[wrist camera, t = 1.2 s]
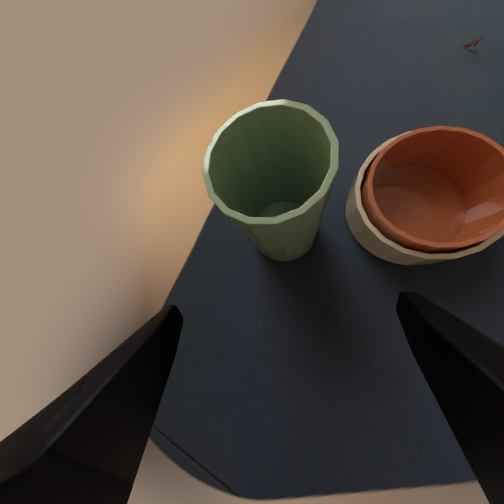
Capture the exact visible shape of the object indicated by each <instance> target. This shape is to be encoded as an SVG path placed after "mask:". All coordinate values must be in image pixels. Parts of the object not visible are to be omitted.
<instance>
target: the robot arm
mask: <svg viewBox="0 0 504 504" xmlns="http://www.w3.org/2000/svg"><path fill="white" fill-rule="evenodd" d="M396 311H397V314H398V317H399V320H400V322H401V325H402V327H403V330H404V333H405V335H406V338H407V340H408V343H409V346H410V348H411V351H412V353H413V355H414V357H415V359H416V361H417V363H418V365H419V367H420V369H421V371H422V373H423V375H424V377H425V379H426V381H427V383H428V385H429V387H430V389H431V391H432V392H433V394H434V396H435V398H436V400H437V402H438V404H439V406H440V408H441V410H442V412H443V414H444V416H445V418H446V420H447V422H448V424H449V426H450V427H451V429H452V431H453V433H454V435H455V437H456V439H457V441H458V443H459V445H460V447H461V449H462V451H463V453H464V455H465V457H466V459H467V461H468V462H469V464H470V466H471V468H472V470H473V472H474V474H475V476H476V478H477V480H478V482H479V484H480V486H481V488H482V490H483V492H484V494H485V495H486V497H487V499H488V501H489V503H490V504H504V346H502V345H500V344H499V343H497V342H496V341H494V340H492V339H491V338H489V337H488V336H486V335H484V334H483V333H481V332H480V331H478V330H476V329H475V328H473V327H472V326H470V325H468V324H467V323H465V322H464V321H462V320H460V319H459V318H457V317H456V316H454V315H452V314H451V313H449V312H448V311H446V310H444V309H443V308H441V307H440V306H438V305H436V304H435V303H433V302H432V301H430V300H428V299H427V298H425V297H424V296H422V295H420V294H419V293H417V292H415V291H402V292H400V294H399V298H398V301H397V305H396ZM182 325H183V316H182V315H181V313H180V311H179V309H178V308H177V306H175V305H168V306H165V307H164V308H163V309H162V310H161V311H159V312H158V313H157V314H156V315H155V316H154V317H152V318H151V319H150V320H149V321H148V322H147V323H145V324H144V325H143V326H142V327H141V328H140V329H138V330H137V331H136V332H135V333H134V334H132V335H131V336H130V337H129V338H128V339H126V340H125V341H124V342H123V343H122V344H121V345H119V346H118V347H117V348H116V349H115V350H114V351H112V352H111V353H110V354H109V355H108V356H106V357H105V358H104V359H103V360H102V361H100V362H99V363H98V364H97V365H96V366H95V367H93V368H92V369H91V370H90V371H89V372H88V373H87V374H86V375H84V376H83V377H82V378H81V379H79V380H78V381H77V382H76V383H75V384H73V385H72V386H71V387H70V388H68V389H67V390H66V391H65V392H64V393H62V394H61V395H60V396H59V397H58V398H56V399H55V400H54V401H53V402H51V403H50V404H49V405H47V406H46V407H45V408H44V409H42V410H41V411H40V412H38V413H37V414H36V415H35V416H33V417H32V418H31V419H29V420H28V421H27V422H25V423H24V424H23V425H22V426H20V427H19V428H18V429H17V430H15V431H14V432H13V433H11V434H10V435H9V436H7V437H6V438H5V439H3V440H2V441H1V442H0V504H127V502H128V499H129V496H130V493H131V490H132V487H133V486H132V485H133V483H134V480H135V477H136V474H137V471H138V468H139V465H140V462H141V459H142V456H143V453H144V450H145V447H146V444H147V441H148V438H149V435H150V432H151V429H152V426H153V423H154V420H155V417H156V413H157V410H158V407H159V404H160V401H161V398H162V395H163V392H164V389H165V386H166V383H167V380H168V377H169V374H170V371H171V368H172V365H173V362H174V359H175V355H176V351H177V347H178V343H179V338H180V334H181V329H182Z"/></svg>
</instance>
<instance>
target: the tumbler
mask: <svg viewBox="0 0 504 504" xmlns="http://www.w3.org/2000/svg"><path fill="white" fill-rule="evenodd" d="M338 159H339V142H338V140H337V138H336V136H335V134H334V132H333V130H332V128H331V126H330V124H329V122H328V120H327V119H326V118H325V117H323V116H322V115H321V114H319V113H318V112H317V111H315V110H314V109H313V108H311V107H310V106H309V105H306V104H302V103H298V102H293V101H289V100H285V99H284V100H283V99H281V100H273V101H265V102H259V103H256V104H254V105H252V106H249V107H247V108H245V109H243V110H241V111H239V112H237V113H235V114H234V115H233V116H232V117H231V118H230V119H228V120H227V121H226V122H225V123H224V124H223V125H222V126H221V127H220V128H219V129H218V130H217V131H216V133H215V135H214V137H213V139H212V140H211V142H210V144H209V146H208V148H207V150H206V152H205V160H204V166H203V178H204V182H205V185H206V189H207V192H208V196H209V197H210V198H211V200H212V201H213V202H214V203H215V204H216V205H217V206H218V208H219V209H220V210H221V211H222V212H223V213H224V214H225V215H226V216H227V217H228V218H229V219H230V221H231V222H232V223H233V224H234V225H235V226H236V227H237V228H238V229H239V230H240V231H241V232H242V233H243V234H244V235H245V236H246V237H247V238H248V239H249V240H250V241H251V242H252V243H253V244H254V245H255V246H256V247H257V248H258V249H259V251H260V252H261V253H262V254H264V255H265V256H267V257H269V258H271V259H273V260H277V261H291V260H294V259H297V258H299V257H301V256H302V255H304V254H305V253H306V252H307V251H308V250H309V249H310V248H311V247H312V245H313V243H314V241H315V238H316V236H317V233H318V230H319V227H320V224H321V221H322V218H323V215H324V211H325V208H326V205H327V202H328V199H329V196H330V193H331V190H332V186H333V183H334V180H335V177H336V174H337V171H338Z"/></svg>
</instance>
